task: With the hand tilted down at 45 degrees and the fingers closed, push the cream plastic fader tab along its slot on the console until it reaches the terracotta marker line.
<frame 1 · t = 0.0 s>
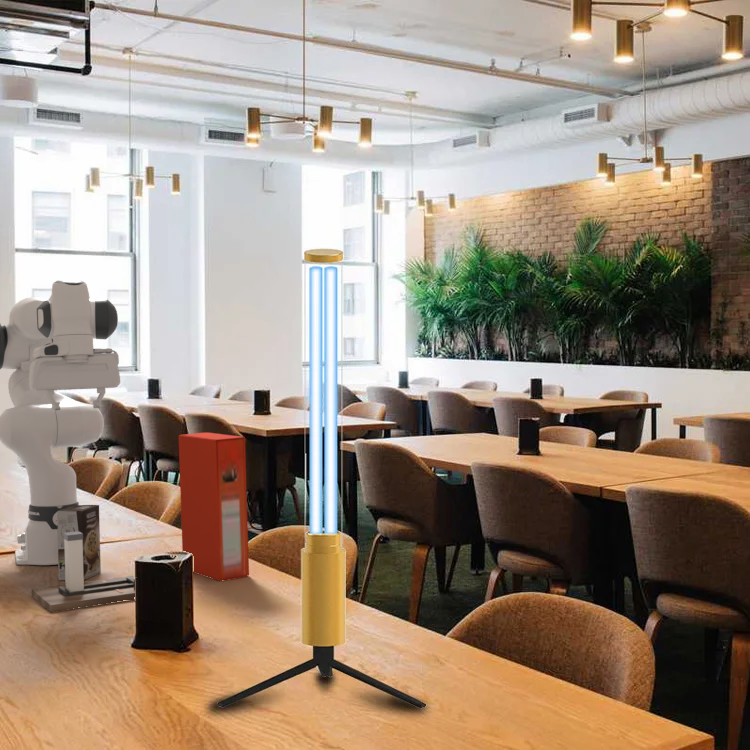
hand: (76, 409, 240), 39 cm above the table, tool pointing down, fingers open, 8 cm apart
console: (93, 596, 223), on the table
coffee box: (80, 577, 242), on the table
file binder: (214, 573, 244), on the table
fader tab: (73, 562, 221), point 8 cm above the table, slide at 0.0 cm
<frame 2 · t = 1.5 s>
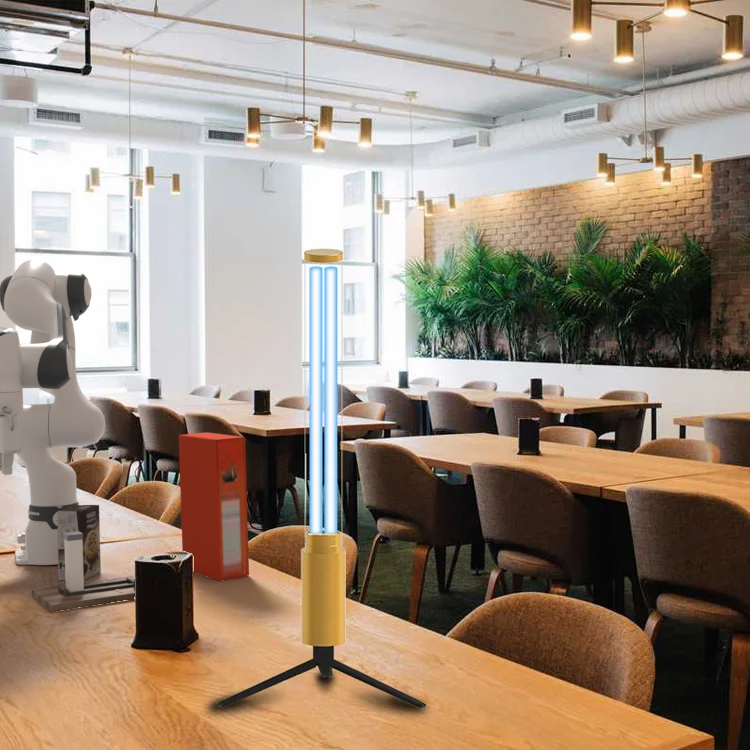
hand: (2, 472, 217), 27 cm above the table, tool pointing down, fingers open, 7 cm apart
nothing on the table moved.
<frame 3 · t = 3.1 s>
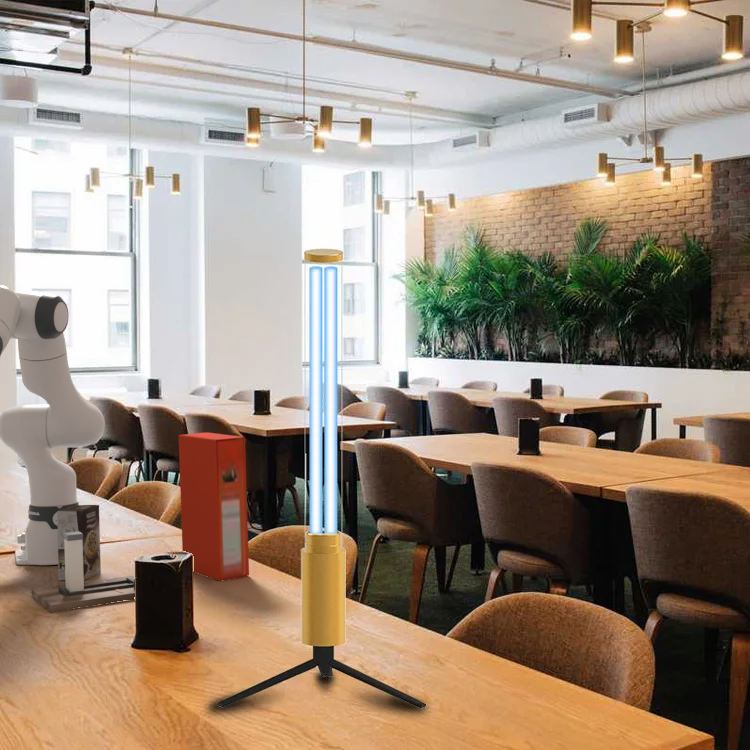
nothing on the table moved.
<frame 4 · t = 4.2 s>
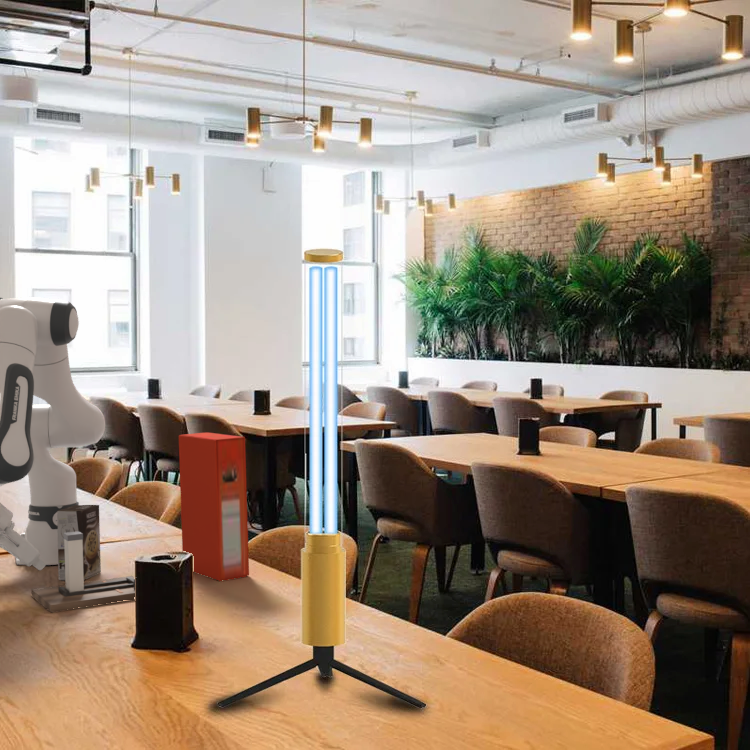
hand: (41, 566, 217), 8 cm above the table, tool tilted 45°, fingers closed
nothing on the table moved.
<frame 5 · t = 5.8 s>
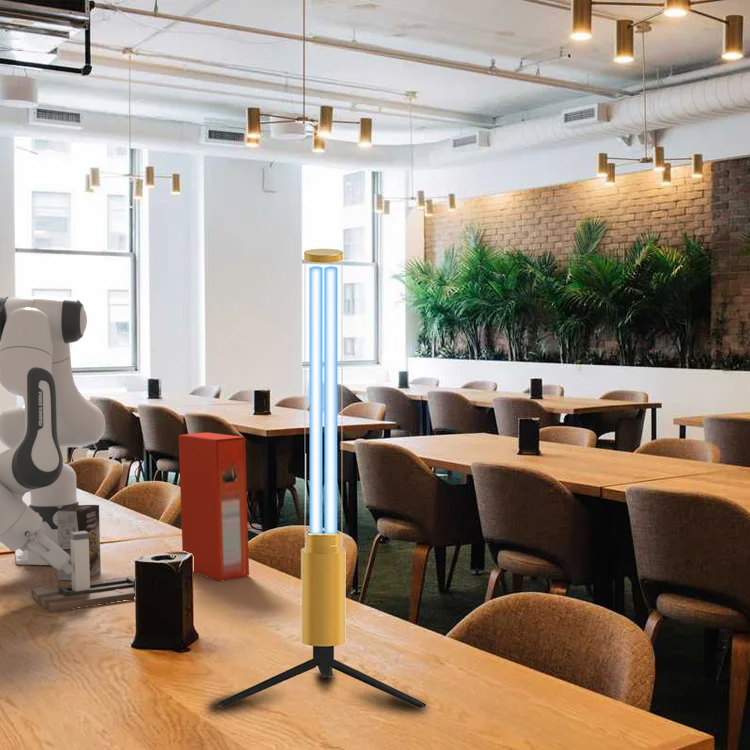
hand: (70, 570, 220), 6 cm above the table, tool tilted 45°, fingers closed, pressing on fader tab
fader tab: (80, 561, 221), point 8 cm above the table, slide at 1.3 cm, touching gripper
everything else where it was.
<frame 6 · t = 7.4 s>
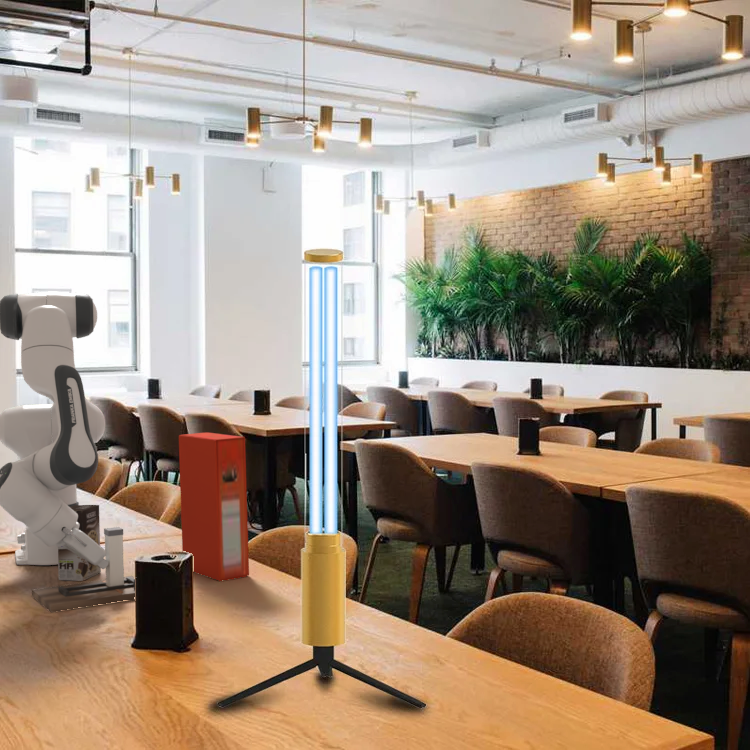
hand: (104, 565, 224), 6 cm above the table, tool tilted 45°, fingers closed, pressing on fader tab
fader tab: (114, 557, 225), point 8 cm above the table, slide at 8.6 cm, touching gripper
everything else where it was.
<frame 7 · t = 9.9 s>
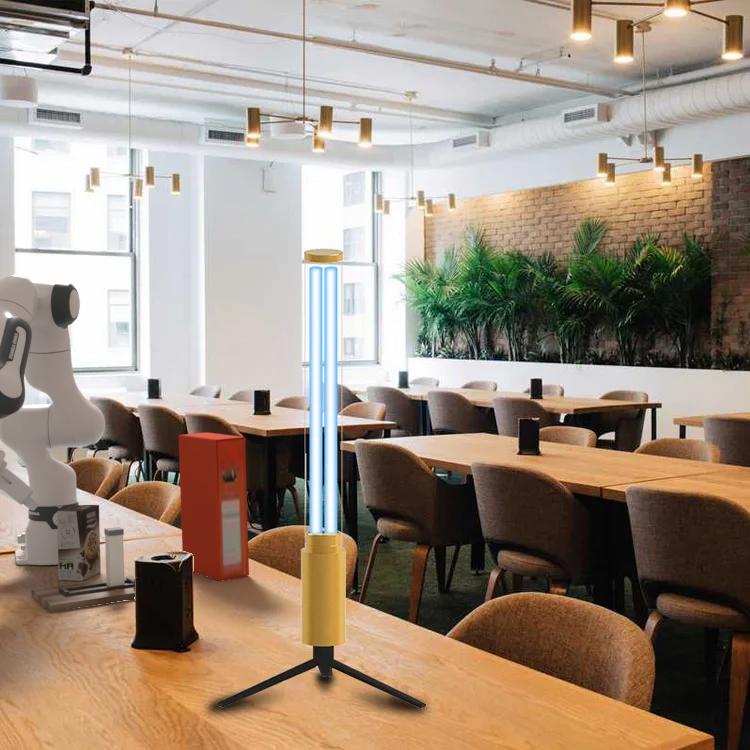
hand: (34, 507, 216), 20 cm above the table, tool tilted 45°, fingers closed
fader tab: (114, 556, 225), point 8 cm above the table, slide at 8.7 cm
everything else where it was.
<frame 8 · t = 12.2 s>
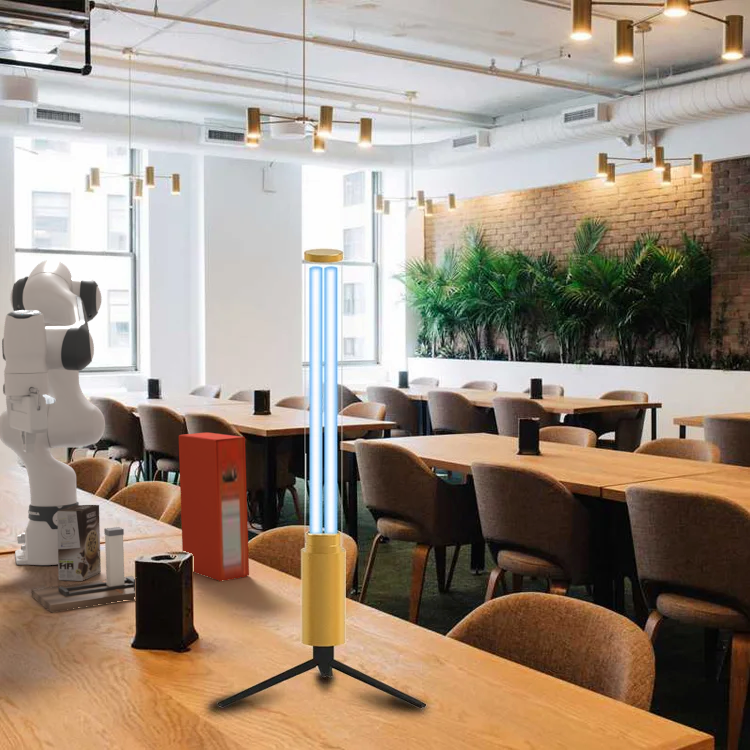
hand: (28, 451, 222), 31 cm above the table, tool pointing down, fingers closed
nothing on the table moved.
at the end: fader tab slide at 8.7 cm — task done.
